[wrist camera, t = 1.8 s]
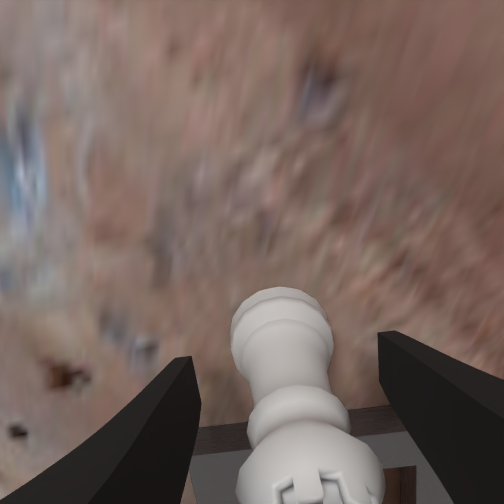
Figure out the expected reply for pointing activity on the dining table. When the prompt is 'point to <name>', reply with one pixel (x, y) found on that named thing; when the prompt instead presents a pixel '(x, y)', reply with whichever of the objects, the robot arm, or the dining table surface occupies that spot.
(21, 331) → the dining table surface
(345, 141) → the dining table surface
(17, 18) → the dining table surface
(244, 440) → the bolt plate
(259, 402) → the rook chess piece
